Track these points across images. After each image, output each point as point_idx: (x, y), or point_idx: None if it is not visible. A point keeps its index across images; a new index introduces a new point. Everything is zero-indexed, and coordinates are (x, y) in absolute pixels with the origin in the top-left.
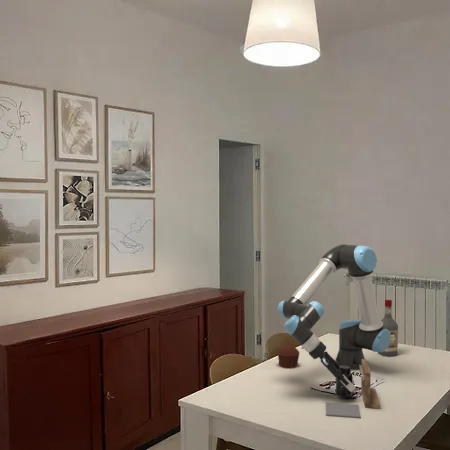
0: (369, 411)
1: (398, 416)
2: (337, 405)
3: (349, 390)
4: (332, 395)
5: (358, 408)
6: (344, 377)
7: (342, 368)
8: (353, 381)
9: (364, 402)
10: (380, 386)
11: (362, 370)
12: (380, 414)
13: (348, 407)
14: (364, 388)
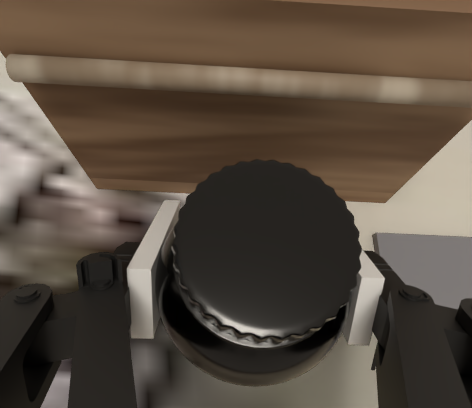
0: (434, 187)
1: None
2: None
3: None
4: (204, 404)
5: (444, 239)
6: (377, 282)
7: (354, 283)
8: (179, 206)
9: (357, 193)
10: (21, 83)
11: (208, 65)
12: (452, 144)
13: (453, 299)
14: (375, 145)
